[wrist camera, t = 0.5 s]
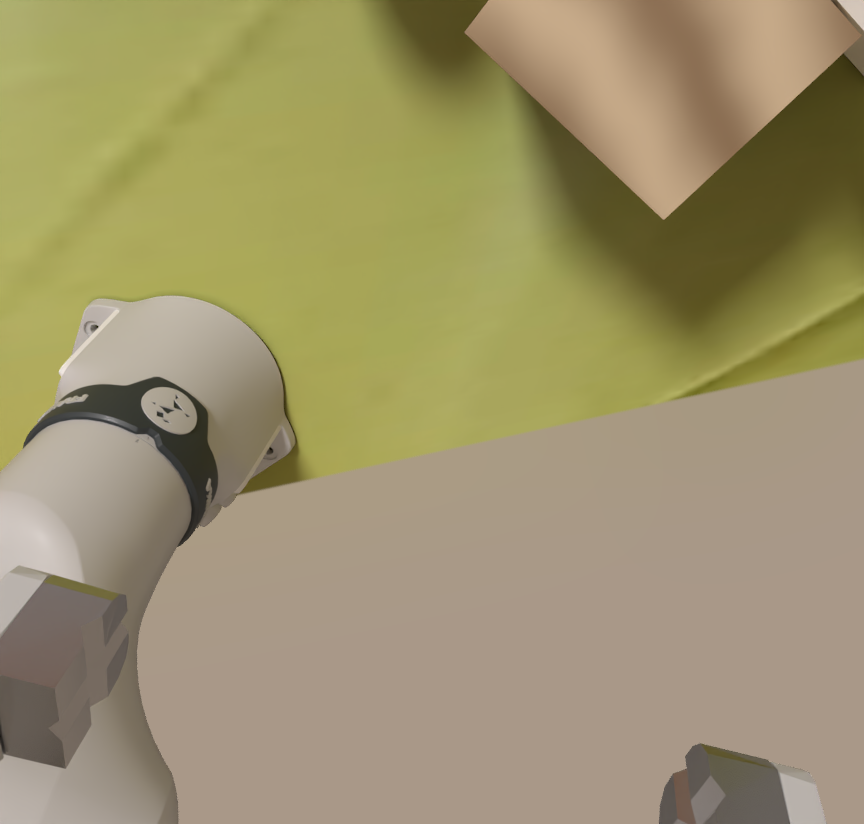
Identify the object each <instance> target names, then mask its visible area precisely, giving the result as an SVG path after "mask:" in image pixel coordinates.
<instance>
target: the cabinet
mask: <svg viewBox="0 0 864 824" xmlns="http://www.w3.org/2000/svg"><path fill="white" fill-rule="evenodd" d="M464 33H465V34H466V35H467V36H469V37H470V38H471V39H472V40H473V41H474V42H475V43H476V44H477V45H478V46H479V47H480V48H481V49H482V50H483V51H484V52H486V53H487V54H488V55H489V56H490V57H491V58H492V59H493V60H494V61H495V62H496V63H497V64H498V65H499V66H500V67H501V68H503V69H504V70H505V71H506V72H507V73H508V74H509V75H510V76H511V77H512V78H513V79H514V80H515V81H516V82H517V83H518V84H520V85H521V86H522V87H523V88H524V89H525V90H526V91H527V92H528V93H529V94H530V95H531V96H532V97H533V98H534V99H535V100H537V101H538V102H539V103H540V104H541V105H542V106H543V107H544V108H545V109H546V110H547V111H548V112H549V113H550V114H551V115H553V116H554V117H555V118H556V119H557V120H558V121H559V122H560V123H561V124H562V125H563V126H564V127H565V128H566V129H567V130H568V131H570V132H571V133H572V134H573V135H574V136H575V137H576V138H577V139H578V140H579V141H580V142H581V143H582V144H583V145H584V146H585V147H587V148H588V149H589V150H590V151H591V152H592V153H593V154H594V155H595V156H596V157H597V158H598V159H599V160H600V161H601V162H602V163H604V164H605V165H606V166H607V167H608V168H609V169H610V170H611V171H612V172H613V173H614V174H615V175H616V176H617V177H618V178H619V179H621V180H622V181H623V182H624V183H625V184H626V185H627V186H628V187H629V188H630V189H631V190H632V191H633V192H634V193H635V194H636V195H638V196H639V197H640V198H641V199H642V200H643V201H644V202H645V203H646V204H647V205H648V206H649V207H650V208H651V209H652V210H653V211H655V212H656V213H657V214H658V215H659V216H660V217H661V218H662V219H663V220H664V219H665V218H666V217H668V216H669V215H670V214H671V213H672V212H673V211H674V210H675V209H676V208H677V207H678V206H679V205H680V204H682V203H683V202H684V201H685V200H686V199H687V198H688V197H689V196H690V195H691V194H692V193H693V192H694V191H696V190H697V189H698V188H699V187H700V186H701V185H702V184H703V183H704V182H705V181H706V180H707V179H708V178H710V177H711V176H712V175H713V174H714V173H715V172H716V171H717V170H718V169H719V168H720V167H721V166H722V165H723V164H725V163H726V162H727V161H728V160H729V159H730V158H731V157H732V156H733V155H734V154H735V153H736V152H737V151H739V150H740V149H741V148H742V147H743V146H744V145H745V144H746V143H747V142H748V141H749V140H750V139H751V138H753V137H754V136H755V135H756V134H757V133H758V132H759V131H760V130H761V129H762V128H763V127H764V126H765V125H767V124H768V123H769V122H770V121H771V120H772V119H773V118H774V117H775V116H776V115H777V114H778V113H779V112H781V111H782V110H783V109H784V108H785V107H786V106H787V105H788V104H789V103H790V102H791V101H792V100H793V99H795V98H796V97H797V96H798V95H799V94H800V93H801V92H802V91H803V90H804V89H805V88H806V87H807V86H809V85H810V84H811V83H812V82H813V81H814V80H815V79H816V78H817V77H818V76H819V75H820V74H821V73H822V72H824V71H825V70H826V69H827V68H828V67H829V66H830V65H831V64H832V63H833V62H834V61H835V60H836V59H838V58H839V57H840V56H841V55H842V54H843V53H844V52H845V51H846V50H847V49H848V48H849V47H850V46H852V45H853V44H854V43H855V42H856V41H857V40H858V39H859V38H860V37H861V36H862V35H861V34H860V33H859V32H858V31H857V29H856V28H855V27H854V26H853V25H852V24H851V23H850V22H849V20H848V19H847V18H846V17H845V16H844V15H843V14H842V12H841V11H840V10H839V9H838V8H837V7H836V6H835V5H834V3H833V2H832V1H831V0H488V2H487V3H486V4H485V6H484V7H483V8H482V10H481V11H480V12H479V14H478V15H477V16H476V17H475V19H474V20H473V21H472V23H471V24H470V25H469V27H468V28H467V29H466V31H465V32H464Z"/></svg>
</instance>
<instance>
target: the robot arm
mask: <svg viewBox="0 0 864 824" xmlns="http://www.w3.org/2000/svg"><path fill="white" fill-rule="evenodd" d="M95 325H97V326H99V328H97V327H96V326H95ZM59 374H60V375H61V379H60V382H59V385H58V389H57V393H56V399H55V404H54V405H53V406H52V407H50V408H49V409H48V410H47V411H46V412H45V413H44V414H43V415H42V417H41V418H40V419H39V420H38V421H37V422H38V423H37V424H36V425H35V426H34V428H33V429H32V430H31V431H30V433H29V434H28V436H27V438H26V440H25V442H24V445H23V449H22V450H21V451H20V452H19V453H18V454H17V455H16V456H15V457H14V458H13V459H12V460H11V461H10V462H9V463H8V464H7V465H6V466H5V467H4V468H3V469H2V470H1V471H0V824H178V801H177V793H176V788H175V783H174V780H173V776H172V773H171V771H170V770H169V768H168V766H167V765H166V763H165V761H164V759H163V758H162V755H161V753H160V751H159V749H158V747H157V745H156V743H155V741H154V739H153V737H152V734H151V731H150V728H149V726H148V723H147V720H146V716H145V713H144V709H143V706H142V701H141V696H140V690H139V683H138V673H137V645H138V635H139V630H140V625H141V622H142V618H143V615H144V613H145V610H146V608H147V605H148V603H149V601H150V599H151V596H152V594H153V592H154V590H155V587H156V585H157V583H158V581H159V579H160V577H161V575H162V573H163V571H164V569H165V568H166V566H167V564H168V562H169V560H170V558H171V556H172V555H173V553H174V551H175V549H176V548H177V547H178V546H180V545H181V544H183V543H184V542H185V541H186V540H187V539H188V538H189V537H190V536H191V534H192V533H193V532H194V531H195V529H196V528H198V527H199V525H200V526H203V527H204V526H206V525H208V524H209V523H210V522H211V521H212V520H213V519H214V518H215V517H216V516H217V514H218V513H219V512H220V510H221V506H223V507H227V506H229V505H230V504H231V503H232V502H233V501H234V499H235V498H236V496H237V495H236V493H237V494H238V493H240V492H241V491H242V490H243V489H244V487H245V486H246V484H247V483H248V481H249V480H250V479H251V478H253V477H254V476H256V475H257V474H259V473H260V472H262V471H263V470H265V469H266V468H268V467H269V466H271V465H272V464H274V463H276V462H277V461H279V460H280V459H282V458H283V457H285V456H286V455H287V454H289V452H290V451H291V450H292V448H293V447H294V445H295V436H294V433H293V431H292V428H291V426H290V424H289V422H288V420H287V418H286V416H285V412H284V393H283V384H282V379H281V375H280V372H279V369H278V367H277V364H276V362H275V360H274V358H273V356H272V355H271V353H270V351H269V350H268V348H267V347H266V345H265V344H264V343H263V342H262V340H261V339H260V338H259V337H258V336H257V335H256V334H255V333H254V332H253V331H252V330H251V329H250V328H249V327H248V326H247V325H246V324H245V323H243V322H242V321H241V320H239V319H238V318H237V317H235V316H234V315H232V314H230V313H229V312H227V311H225V310H223V309H222V308H220V307H217V306H215V305H213V304H210V303H208V302H205V301H202V300H198V299H194V298H190V297H183V296H159V297H153V298H149V299H145V300H141V301H137V302H124V301H118V300H112V299H95V300H93V301H92V302H91V303H90V304H89V305H88V306H87V308H86V309H85V311H84V313H83V317H82V320H81V324H80V327H79V331H78V334H77V338H76V341H75V345H74V348H73V352H72V355H71V357H70V358H69V359H68V360H67V361H66V362H65V363H64V364H63V366H62V367H61V369H60V370H59ZM269 447H271V448H272V449H273V450H271V449H269ZM685 758H686V766H687V769H685V770H682V771H679V772H676V773H674V774H673V775H672V776H671V778H670V780H669V781H668V783H667V784H666V786H665V788H664V792H663V796H662V800H661V804H660V817H659V824H827V823H826V820H825V816H824V812H823V809H822V805H821V802H820V798H819V794H818V790H817V787H816V783H815V781H814V779H813V777H812V776H811V775H810V773H809V772H807V771H804V770H802V769H798V768H794V767H789V766H785V765H781V764H777V763H772V762H769V761H768V760H766V759H762V758H758V757H753V756H749V755H745V754H741V753H737V752H733V751H729V750H725V749H720V748H717V747H712V746H708V745H704V744H698V745H695V746H693V747H692V748H691V749H690V751H689V752H688V753H687V755H686V756H685Z"/></svg>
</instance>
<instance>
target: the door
mask: <svg viewBox="0 0 864 824" xmlns="http://www.w3.org/2000/svg"><path fill="white" fill-rule="evenodd" d="M831 1H832V2H833V3H834V5H835V6H836V7H837V8H838V9H839V10H840V11H841V12H842V14H843V15H844V16H845V17H846V18H847V19H848V20H849V22H850V23H851V24H852V25H853V26H854V27H855V28H856V29H857V31H858V32H859V33H860V34H861V35H862V36H861V37H860V38H859V39H858V40H857V41H856V42H855V43H854V44H853V45H852V46H850V47H849V48H848V49H847V50H846V51H845V52H844V54H845V56H846V57H847V58H848V59H849V60H850V61H851V62H852V63H853V64H854V66H855V67H856V68H857V69H858V70H859V71H860V72H861V73H862V74H863V76H864V0H831Z"/></svg>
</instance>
